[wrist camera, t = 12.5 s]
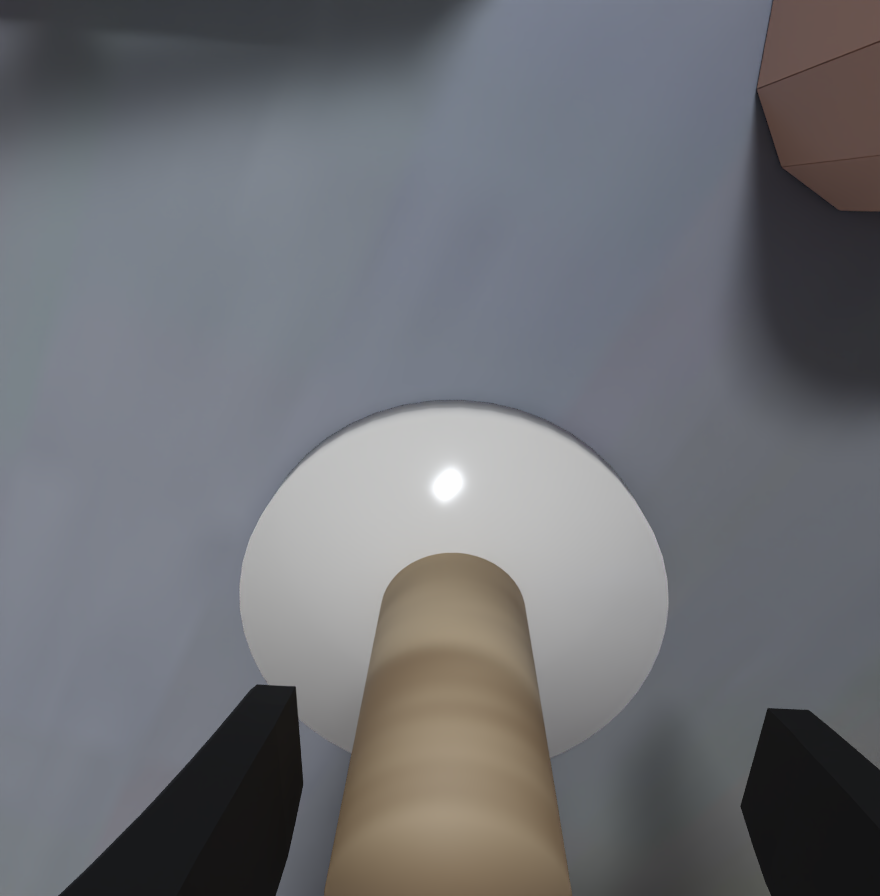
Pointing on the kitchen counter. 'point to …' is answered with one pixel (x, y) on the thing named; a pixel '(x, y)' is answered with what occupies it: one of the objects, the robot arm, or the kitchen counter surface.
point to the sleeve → (826, 97)
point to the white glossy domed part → (455, 531)
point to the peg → (450, 747)
